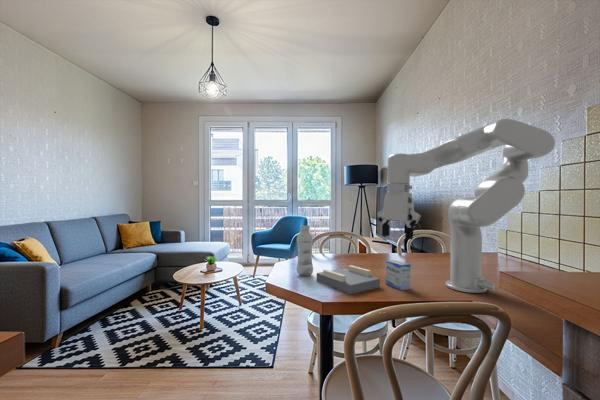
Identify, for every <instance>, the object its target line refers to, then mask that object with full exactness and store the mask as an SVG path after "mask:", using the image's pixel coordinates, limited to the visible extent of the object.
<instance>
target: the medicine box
mask: <svg viewBox="0 0 600 400" xmlns="http://www.w3.org/2000/svg"><path fill="white" fill-rule="evenodd" d="M411 266H412V265H411V264H410V263H406V262H402V261H399V260H395V259H394V260H393V259H391V260H385V285H386V286H389V287H392V288H394V289H396V290H399V291H405V290H406V291H407V290H410V289H411V277H412V275H411V271H412V270H411V269H412V268H411Z"/></svg>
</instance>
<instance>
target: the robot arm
mask: <svg viewBox="0 0 600 400" xmlns="http://www.w3.org/2000/svg"><path fill="white" fill-rule="evenodd" d="M555 140H556V139H555V138H554V136H553V134H552V133H550V132H549V131H547V130H546V129H543V128H540V127H537V126H534V125H531V124H528V123H526V122H523V121H520V120H516V119H511V118H501V119H498V120H495V121H493V122H491V123H488V124H486V125H483V126H481V127H478V128H476V129H474V130H472V131H469V132H466V133H464V134H460V135H459V136H455V137H454V138H451V139H450V140H447V141H445V142H442V143H441V144H439V145H437V146H436V147H433V148H431V149H428V150H426V151H424V152H418V153H410V154H409V153H393V154H390V155H389V156H388V158H387V173H386V175H387V176H386V178H387V179H386V192H385V195H384V199H383V207H382V209H381V210H379V211H378V212H377V213H376V215H377V218H378V221H379V222H380V225H381V226H382V228H381V233H382V235H381V236H383V237H389V236H390V225H389V223H390V222H391V221H393V222H404V224H405V226H406V227H405V234H404V236H405V240H413V238H414V228H415V227H416V226H417V225H418V224H419V221H420V219H421V217H422V215H421V214H419V213H418V212H416V211H415V209H414V207H415V206H414V199H413V194H412V193H411V192H410V191H411V190H413V185H411V184H410V181H411V177H413V178H414V177H419V176H425V175H428V174H430V173H432V172H433V171H434V170H436V169H439V168H441V167H445V166H449V165H453V164H454V165H455V164H457V163H460V162H463V161H466V160H468V159H470V158H473V157H476V156H479V155H480V154H484V153H485V152H488V151H490V150H493V149H496V148H498V147H503V148H502V158H503V159H502V164H501V166H500V167H499V168H498V169H497V170H495V172H493V173H492V174H491V175H489V176H488V177H487V178H485V179H484V180H483V181H481V182H480V183H479V184H478V185H477V186H476V188H475V190H474V197H471V196H470V197H460V198H457V199H454V200H453V201H452V202H451V203H450V205H449V207H448V211H447V213H448V223H449V228H450V262H449V265H450V267H449V270H450V273H449V274H450V275H449V276H450V277H449V278H450V279H448V280H446V281H445V286H446V287H447V288H449V289H451V290H453V291H454V290H455V291H459V292H464V293H470V294H471V293H472V294H483V293H486V292H487V291H488V290H495V288H496V285H495V283H494V282H492V281H487V280H486V279H485V278H486V277H485V276H484V275H483V273H482V269H483V268H482V264H483V261H482V260H483V259H482V258H483V257H482V256H483V237H482V235H483V234H482V231H481V228H485V227H489V226H491V225H493V224H495V223H496V222H497V221H499V220H500V219H501V218H503V217H504V216H505V215H507V214H508V213H509V212H511V211H512V210H513V209H515V207H517V206H518V205H519V204H520V203H521V202H522V200H523V199H524V196H525V194H526V193H525V192H526V190H525V189H526V188H525V185H524V182H525V181H526V180H527V179H528V177H529V161H528V160H530V159H531V160H532V159H538V158H541V157H545V156H547V155H549V154H550V153H551V152H553V151H554V148H555V145H556V141H555Z"/></svg>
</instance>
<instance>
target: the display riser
mask: <svg viewBox="0 0 600 400" xmlns="http://www.w3.org/2000/svg"><path fill="white" fill-rule="evenodd" d="M380 280H381V279H380V278H378V277H376V276H372V270H371V269H366V268H362V267H359V266H356V265H352V264H351V265H348V268H339V269H338V268H337V269H332V270H330V269H327V268H326V269H323V271H321V272H316V282H318V283H320V284H323V285H326V286H328V287H329V288H330V287H331V288H333V289H335V290H336V289H337V290H338V291H341V292H344V293H347V294H349V295H353V294H359V293H361V292H366V291H369V290H370V291H371V290H374V289H378V288H380V284H381V281H380Z"/></svg>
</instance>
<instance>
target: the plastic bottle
mask: <svg viewBox="0 0 600 400" xmlns="http://www.w3.org/2000/svg"><path fill="white" fill-rule="evenodd" d="M310 228H311V226H310V225H303V224H302V225H300V228H299V229H300V232H299V233H298V235H297V237H296V245H297V246H296V247H297V264H296V273H297V275H298V276H302V277H307V276H308V277H309V276H312V275H313V272H314V265H313V259H312V258H313V257H312V251H313V242H314V239H313V236H312V234H311V232H310V230H311V229H310Z"/></svg>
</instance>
